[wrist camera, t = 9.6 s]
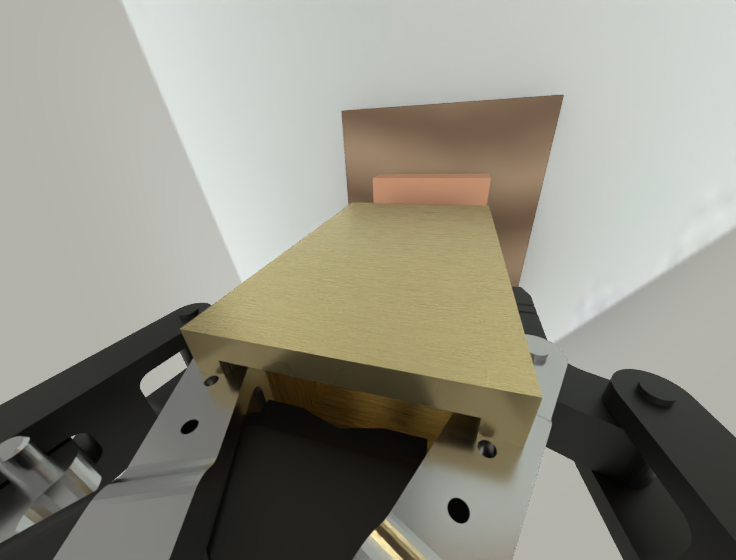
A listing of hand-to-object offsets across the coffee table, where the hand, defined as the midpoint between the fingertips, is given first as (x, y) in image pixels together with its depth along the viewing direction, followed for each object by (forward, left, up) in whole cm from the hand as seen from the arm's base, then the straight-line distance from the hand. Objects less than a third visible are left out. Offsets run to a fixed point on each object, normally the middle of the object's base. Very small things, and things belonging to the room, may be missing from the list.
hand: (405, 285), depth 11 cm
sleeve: (0, 0, -2) cm, 2 cm away
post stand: (0, 0, -14) cm, 14 cm away
